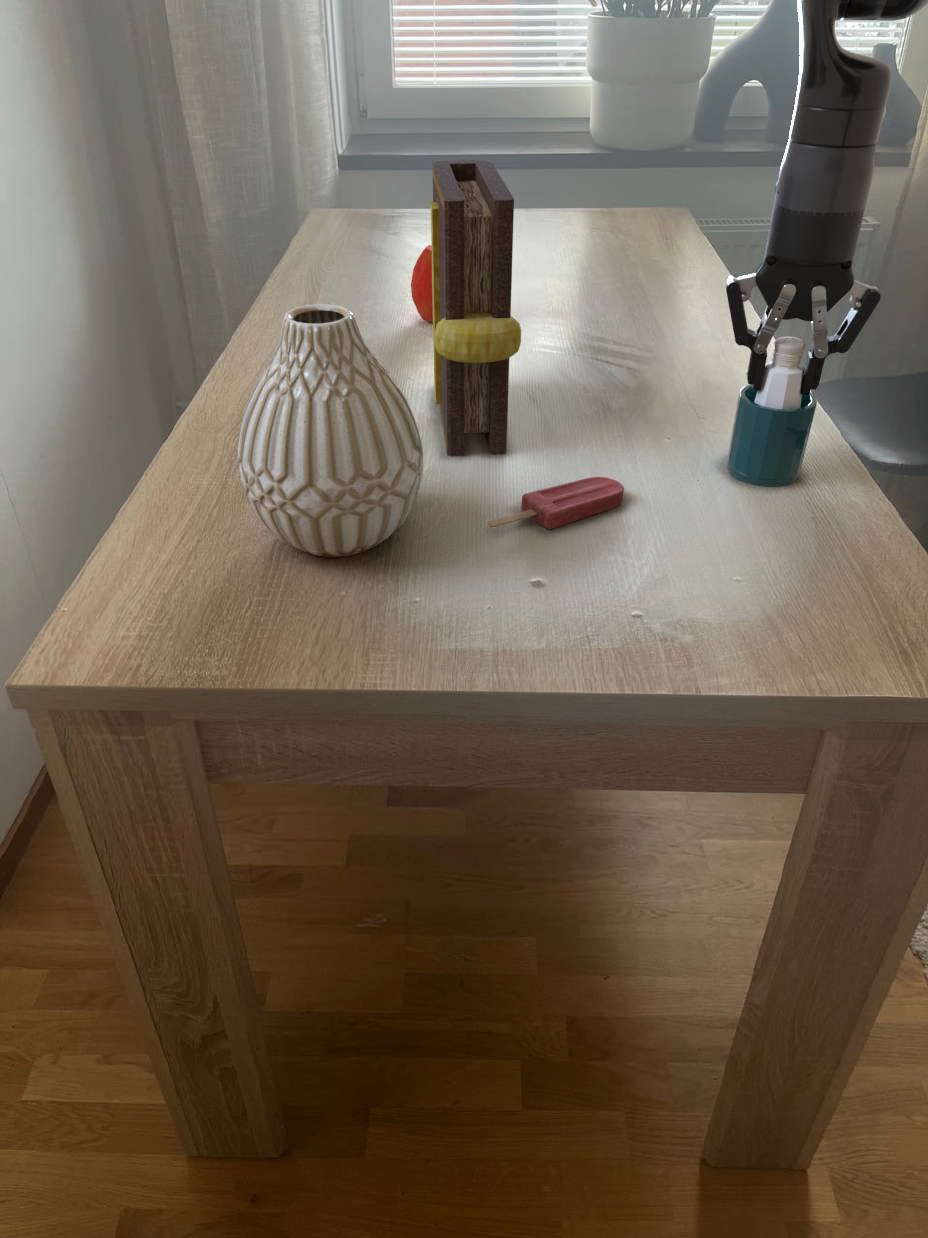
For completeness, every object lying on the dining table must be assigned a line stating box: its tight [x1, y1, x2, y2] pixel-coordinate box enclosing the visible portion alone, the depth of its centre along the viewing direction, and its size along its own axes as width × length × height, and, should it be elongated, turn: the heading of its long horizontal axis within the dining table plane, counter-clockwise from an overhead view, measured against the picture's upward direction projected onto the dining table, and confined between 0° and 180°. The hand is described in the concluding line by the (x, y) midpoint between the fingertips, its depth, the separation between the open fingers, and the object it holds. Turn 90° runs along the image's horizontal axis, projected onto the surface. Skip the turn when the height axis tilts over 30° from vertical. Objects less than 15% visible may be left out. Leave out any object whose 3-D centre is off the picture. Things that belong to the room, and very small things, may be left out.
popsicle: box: [487, 476, 625, 530], centre depth 87 cm, size 4×2×15 cm
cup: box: [726, 384, 818, 487], centre depth 92 cm, size 7×7×8 cm
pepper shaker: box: [754, 336, 806, 409], centre depth 90 cm, size 5×5×11 cm
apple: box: [410, 244, 433, 324], centre depth 130 cm, size 8×8×11 cm
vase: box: [236, 303, 424, 558], centre depth 78 cm, size 16×16×20 cm
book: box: [430, 159, 522, 457], centre depth 97 cm, size 22×8×25 cm, turn 5°
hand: (780, 389), depth 89 cm, fingers closed on pepper shaker, 4 cm apart
